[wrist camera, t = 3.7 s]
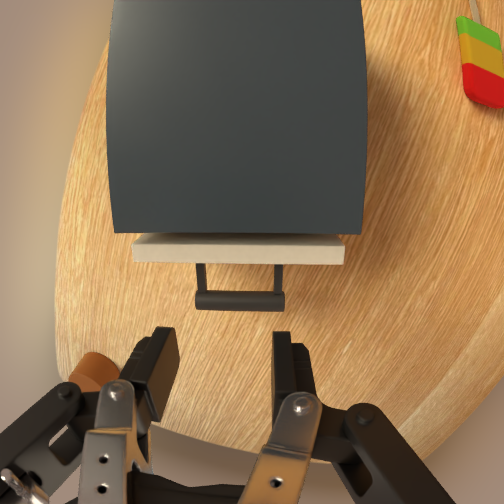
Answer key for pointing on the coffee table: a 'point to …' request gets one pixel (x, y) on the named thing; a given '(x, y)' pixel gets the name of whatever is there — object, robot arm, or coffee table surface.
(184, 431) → the coffee table surface
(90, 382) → the orange brown cylinder
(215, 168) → the cabinet
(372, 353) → the coffee table surface
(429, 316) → the coffee table surface
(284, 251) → the drawer
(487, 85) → the popsicle
